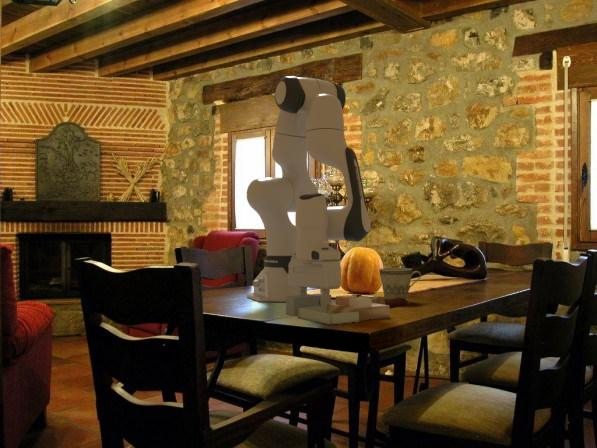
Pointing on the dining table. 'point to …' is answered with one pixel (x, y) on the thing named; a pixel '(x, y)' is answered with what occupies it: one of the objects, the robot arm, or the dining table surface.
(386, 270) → the ceramic cup
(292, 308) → the small grey box
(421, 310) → the dining table surface
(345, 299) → the tile
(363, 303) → the tile
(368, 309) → the pale flat square block
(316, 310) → the tray
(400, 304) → the gavel
